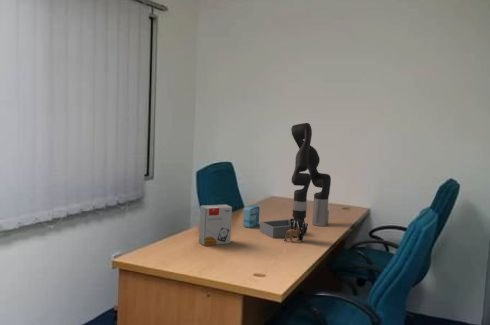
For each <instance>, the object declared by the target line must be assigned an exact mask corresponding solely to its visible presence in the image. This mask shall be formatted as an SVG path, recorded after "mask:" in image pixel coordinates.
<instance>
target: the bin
mask: <svg viewBox="0 0 490 325" xmlns="http://www.w3.org/2000/svg"><path fill="white" fill-rule="evenodd" d="M290 229H291V224H290V219H277V220H267V221H266V220H265V221H259V233H261V234H263V235H265V236H267V237H270V238H272V239H277V238H285V236H286V233H287V231H288V230H290Z"/></svg>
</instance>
